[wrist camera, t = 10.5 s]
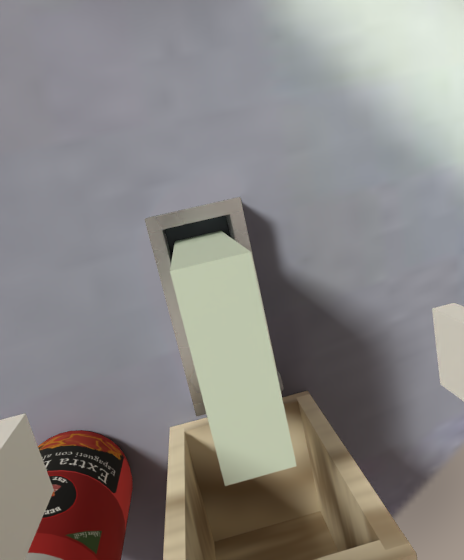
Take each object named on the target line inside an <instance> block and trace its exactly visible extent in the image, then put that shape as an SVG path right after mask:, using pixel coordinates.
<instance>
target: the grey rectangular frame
mask: <svg viewBox="0 0 464 560" xmlns="http://www.w3.org/2000/svg"><path fill="white" fill-rule="evenodd" d="M224 215H226V219H227V223H228V228H229V232H230V237H231V238H232V239H233V240H235V241H236V242H238V243H239V244H241V245H242V246H243V247H245V248H246V249H248V250H249V251H250V252H251V254H252V250H251V245H250V241H249V236H248V231H247V227H246V222H245V217H244V212H243V208H242V203H241V198H240V197H238V198H232V199H227V200H223V201H218V202H214V203H210V204H205V205H201V206H196V207H192V208H188V209H183V210H179V211H174V212H170V213H165V214H161V215H157V216H152V217H148V218H146V219H145V222H146V226H147V230H148V234H149V238H150V241H151V245H152V249H153V253H154V257H155V260H156V264H157V268H158V272H159V276H160V279H161V283H162V287H163V291H164V295H165V299H166V302H167V306H168V310H169V314H170V318H171V321H172V325H173V329H174V333H175V337H176V340H177V344H178V348H179V352H180V356H181V359H182V363H183V367H184V371H185V375H186V378H187V382H188V386H189V390H190V394H191V397H192V401H193V405H194V409H195V413H196V416H200V415H203V414H206V410H205V406H204V402H203V398H202V394H201V390H200V387H199V383H198V379H197V375H196V371H195V367H194V363H193V359H192V355H191V352H190V348H189V344H188V340H187V336H186V332H185V328H184V324H183V320H182V316H181V313H180V309H179V305H178V301H177V297H176V293H175V289H174V285H173V281H172V278H171V274H170V267H171V262H172V257H171V253H170V249H169V245H168V241H167V237H166V233H165V229H167V228H171V227H176V226H180V225H184V224H189V223H193V222H198V221H202V220H206V219H211V218H215V217H219V216H224ZM252 259H253V255H252ZM253 264H254V260H253ZM254 268H255V264H254ZM255 273H256V269H255ZM256 278H257V274H256ZM257 282H258V278H257ZM258 287H259V283H258ZM259 292H260V288H259ZM260 296H261V292H260ZM261 301H262V297H261ZM262 306H263V302H262ZM263 310H264V307H263ZM264 315H265V311H264ZM265 320H266V316H265ZM266 325H267V321H266ZM267 329H268V325H267ZM268 334H269V330H268ZM269 339H270V335H269ZM270 343H271V340H270ZM271 348H272V344H271ZM272 353H273V349H272ZM273 357H274V354H273ZM274 362H275V358H274ZM275 367H276V363H275ZM276 372H277V368H276ZM281 394H282V391H281Z"/></svg>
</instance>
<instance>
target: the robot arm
mask: <svg viewBox="0 0 464 560" xmlns="http://www.w3.org/2000/svg"><path fill="white" fill-rule="evenodd" d="M432 311H433V321H434V330H435V339H436V348H437V357H438V366H439V375H440V384H441V385H442V386H443V387H445V388H446V389H448V390H449V391H450V392H452V393H453V394H454V395H456V396H457V397H459V398H460V399H461V400H463V401H464V307H463V306H460V305H458V304H455V303H452V304H448V305H444V306H440V307H436V308H433V309H432ZM53 491H54V489H53V486H52V483H51V481H50V478H49V475H48V473H47V470H46V467H45V465H44V462H43V459H42V457H41V454H40V451H39V449H38V446H37V443H36V440H35V438H34V435H33V432H32V430H31V427H30V424H29V422H28V419H27V416H26V414H21V415H18V416H14V417H10V418H6V419H2V420H0V560H25V558H26V555H27V553H28V551H29V548H30V546H31V543H32V541H33V539H34V536H35V534H36V531H37V529H38V527H39V524H40V522H41V520H42V517H43V515H44V512H45V510H46V508H47V505H48V503H49V500H50V498H51V496H52V493H53Z"/></svg>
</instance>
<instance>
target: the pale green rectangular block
mask: <svg viewBox="0 0 464 560" xmlns="http://www.w3.org/2000/svg"><path fill="white" fill-rule="evenodd" d="M170 274H171V278H172V281H173V285H174V289H175V293H176V297H177V301H178V305H179V309H180V313H181V316H182V320H183V324H184V328H185V332H186V336H187V340H188V344H189V348H190V352H191V355H192V359H193V363H194V367H195V371H196V375H197V379H198V383H199V387H200V390H201V394H202V398H203V402H204V406H205V410H206V414H207V418H208V422H209V425H210V429H211V433H212V437H213V441H214V445H215V449H216V453H217V457H218V461H219V464H220V468H221V472H222V476H223V480H224V484H225V486H228V485H231V484H235V483H238V482H242V481H245V480H249V479H253V478H256V477H260V476H263V475H267V474H270V473H274V472H278V471H281V470H285V469H288V468H292V467H295V466H297V465H296V461H295V456H294V451H293V447H292V442H291V437H290V433H289V428H288V423H287V419H286V414H285V409H284V404H283V400H282V395H281V391H283V390H284V388H283V383H282V379H281V376H280V373H279V372H278V371H277V372H276V367H275V362H274V357H273V353H272V348H271V343H270V339H269V334H268V329H267V325H266V320H265V315H264V310H263V306H262V301H261V296H260V292H259V287H258V282H257V278H256V273H255V268H254V264H253V259H252V254H251V252H250V251H249V250H248V249H246V248H245V247H243V246H242V245H241V244H239V243H238V242H236V241H235V240H233V239H232V238H231V237H229V236H228V235H226V234H225V233H223V232H222V231H221V230H220V231H216V232H211V233H207V234H203V235H199V236H194V237H190V238H186V239H181V240H177V241H175V244H174V250H173V256H172V262H171V267H170Z"/></svg>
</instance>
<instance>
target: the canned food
mask: <svg viewBox="0 0 464 560" xmlns="http://www.w3.org/2000/svg"><path fill="white" fill-rule="evenodd" d="M38 449H39V451H40V454H41V457H42V459H43V462H44V465H45V467H46V470H47V473H48V475H49V478H50V481H51V483H52V486H53V489H54V491H53V493H52V496H51V498H50V500H49V503H48V505H47V508H46V510H45V512H44V515H43V517H42V520H41V522H40V524H39V527H38V529H37V531H36V534H35V536H34V539H33V541H32V543H31V546H30V548H29V551H28V553H27V555H26V558H25V560H121V555H122V549H123V543H124V537H125V531H126V525H127V519H128V513H129V507H130V501H131V495H132V489H133V488H132V475H131V470H130V467H129V463H128V461H127V459H126V457H125V455H124V453H123V452H122V451H121V449H120V448H119V447H118V446H117V445H116V444H115V443H114V442H113V441H111V440H110V439H108V438H106V437H105V436H103V435H100V434H97V433H94V432H90V431H82V430H80V431H68V432H64V433H60V434H58V435H55V436H53V437H51V438H49V439H48V440H46V441H45V442H43V443H42V444H40V445H39V446H38Z"/></svg>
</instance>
